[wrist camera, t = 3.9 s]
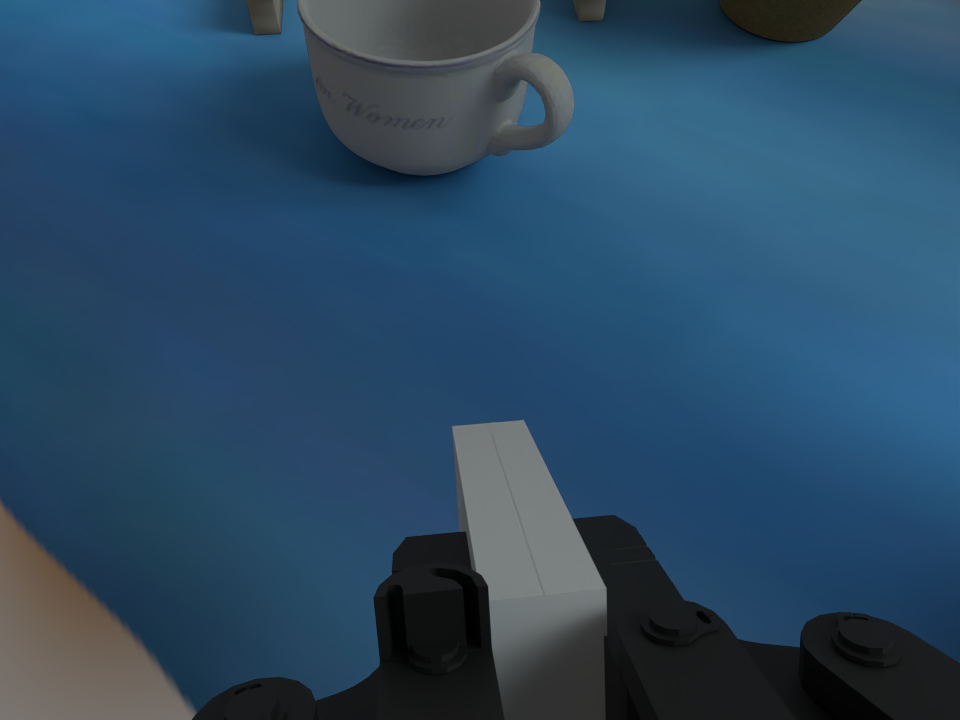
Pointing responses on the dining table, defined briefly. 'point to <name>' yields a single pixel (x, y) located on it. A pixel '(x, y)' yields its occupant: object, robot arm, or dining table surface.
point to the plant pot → (788, 17)
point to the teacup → (432, 79)
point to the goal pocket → (269, 4)
